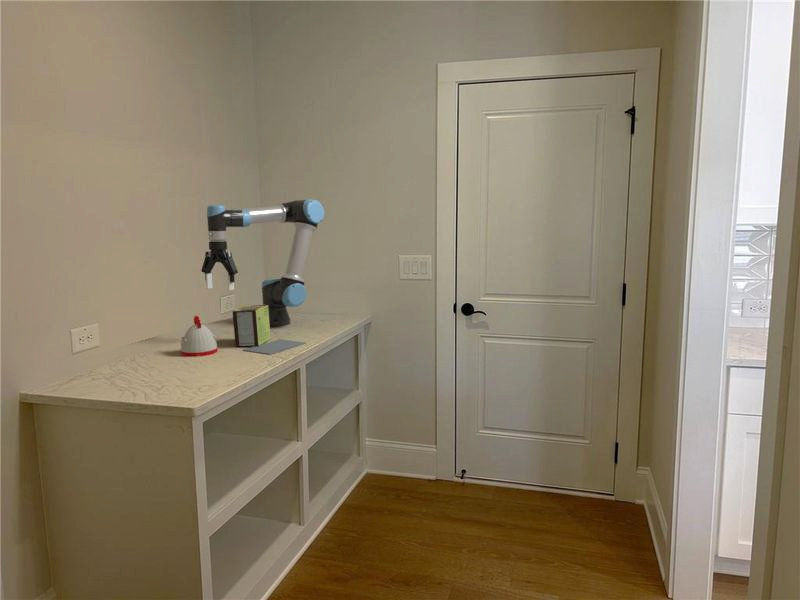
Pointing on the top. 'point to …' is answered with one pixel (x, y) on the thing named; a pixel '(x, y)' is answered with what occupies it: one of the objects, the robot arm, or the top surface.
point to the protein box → (251, 325)
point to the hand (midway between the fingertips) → (220, 289)
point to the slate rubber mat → (274, 346)
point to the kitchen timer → (198, 341)
